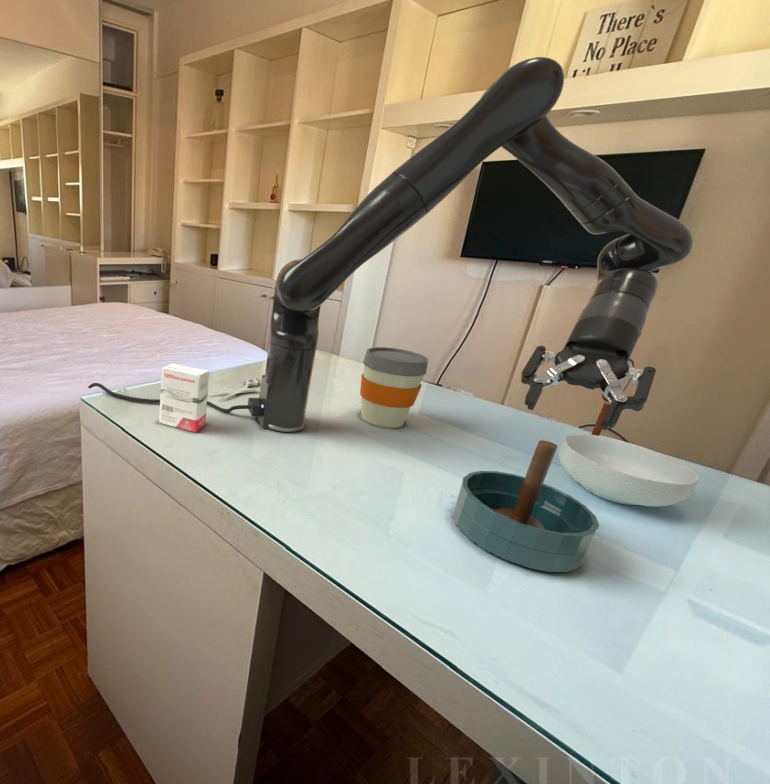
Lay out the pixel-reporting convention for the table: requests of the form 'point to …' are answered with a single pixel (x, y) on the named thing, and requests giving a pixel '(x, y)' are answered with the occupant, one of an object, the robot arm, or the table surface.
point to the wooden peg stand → (532, 485)
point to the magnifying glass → (624, 383)
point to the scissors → (243, 388)
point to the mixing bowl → (521, 541)
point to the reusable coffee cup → (390, 385)
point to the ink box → (183, 397)
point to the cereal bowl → (625, 471)
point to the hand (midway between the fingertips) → (565, 416)
